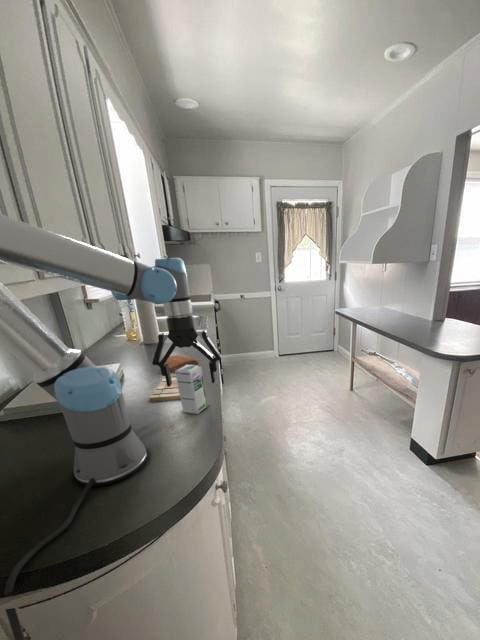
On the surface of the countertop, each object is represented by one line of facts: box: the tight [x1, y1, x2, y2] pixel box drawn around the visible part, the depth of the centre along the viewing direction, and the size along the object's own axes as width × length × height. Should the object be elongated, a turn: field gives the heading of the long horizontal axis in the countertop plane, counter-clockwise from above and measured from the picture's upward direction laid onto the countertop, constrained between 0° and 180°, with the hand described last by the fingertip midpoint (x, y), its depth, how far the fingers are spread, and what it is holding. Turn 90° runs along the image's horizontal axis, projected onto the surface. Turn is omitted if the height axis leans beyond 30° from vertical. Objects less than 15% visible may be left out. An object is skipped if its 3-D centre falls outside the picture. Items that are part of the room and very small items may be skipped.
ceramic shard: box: [165, 354, 199, 373], centre depth 138 cm, size 15×6×15 cm
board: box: [148, 374, 181, 402], centre depth 116 cm, size 22×14×2 cm, turn 7°
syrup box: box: [174, 364, 209, 415], centre depth 96 cm, size 6×6×14 cm
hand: (191, 383), depth 96 cm, fingers open, 13 cm apart
